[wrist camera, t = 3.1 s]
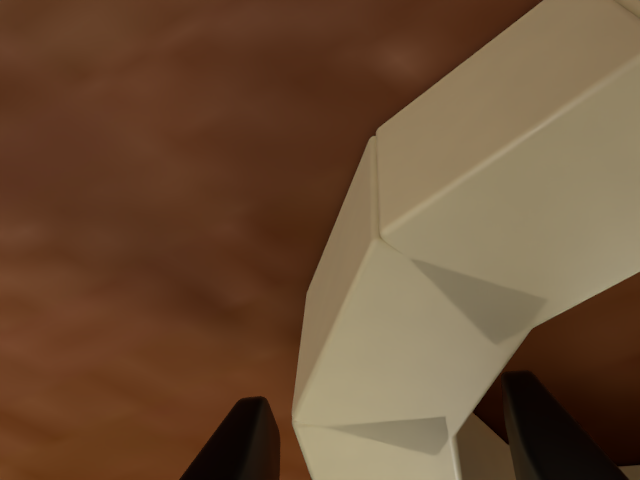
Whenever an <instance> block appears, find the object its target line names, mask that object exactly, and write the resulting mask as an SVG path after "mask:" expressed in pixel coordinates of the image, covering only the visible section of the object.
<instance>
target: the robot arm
mask: <svg viewBox="0 0 640 480" xmlns="http://www.w3.org/2000/svg"><path fill="white" fill-rule="evenodd" d="M501 385H502V400H503V413H504V420H505V426H506V431H507V436H508V441H509V446H510V451H511V456H512V461H513V466H514V472H515V477H516V480H629V479H628V477H627V476H626V475H625V474H624V473H623V472H622V471H621V470H620V469H619V468H618V466H617V465H616V464H615V463H614V462H613V461H612V460H611V459H610V458H609V457H608V455H607V454H606V453H605V452H604V451H603V450H602V449H601V448H600V447H599V446H598V444H597V443H596V442H595V441H594V440H593V439H592V438H591V437H590V436H589V434H588V433H587V432H586V431H585V430H584V429H583V428H582V427H581V426H580V425H579V423H578V422H577V421H576V420H575V419H574V418H573V417H572V416H571V415H570V414H569V412H568V411H567V410H566V409H565V408H564V407H563V406H562V405H561V404H560V403H559V401H558V400H557V399H556V398H555V397H554V396H553V395H552V394H551V393H550V392H549V390H548V389H547V388H546V387H545V386H544V385H543V384H542V383H541V382H540V381H539V379H538V378H537V377H536V376H535V375H534V374H533V373H532V372H530V371H528V370H521V371H511V372H505V373H503V374H502V376H501ZM279 476H280V434H279V430H278V427H277V424H276V421H275V419H274V416H273V413H272V411H271V408H270V405H269V403H268V401H267V399H266V398H265V397H262V396H259V397H248V398H242V399H240V400H239V401H238V402H237V403H236V404H235V405H234V407H233V408H232V409H231V411H230V412H229V413H228V415H227V416H226V417H225V419H224V420H223V421H222V423H221V424H220V425H219V427H218V428H217V430H216V431H215V432H214V434H213V435H212V436H211V438H210V439H209V440H208V442H207V443H206V444H205V446H204V447H203V448H202V450H201V451H200V452H199V454H198V455H197V456H196V458H195V459H194V460H193V462H192V463H191V465H190V466H189V467H188V469H187V470H186V471H185V473H184V474H183V475H182V477H181V478H180V479H179V480H279Z"/></svg>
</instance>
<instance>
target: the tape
mask: <svg viewBox="0 0 640 480" xmlns="http://www.w3.org/2000/svg"><path fill="white" fill-rule="evenodd" d="M638 272H640V0H543V1H542V2H540V3H539V4H538V5H537V6H535V7H534V8H533V9H531V10H530V11H529V12H528V13H526V14H525V15H524V16H522V17H521V18H520V19H519V20H517V21H516V22H515V23H513V24H512V25H511V26H509V27H508V28H507V29H506V30H504V31H503V32H502V33H500V34H499V35H498V36H497V37H495V38H494V39H493V40H491V41H490V42H489V43H488V44H486V45H485V46H484V47H482V48H481V49H480V50H478V51H477V52H476V53H475V54H473V55H472V56H471V57H469V58H468V59H467V60H466V61H464V62H463V63H462V64H460V65H459V66H458V67H457V68H455V69H454V70H453V71H451V72H450V73H449V74H447V75H446V76H445V77H444V78H442V79H441V80H440V81H438V82H437V83H436V84H435V85H433V86H432V87H431V88H429V89H428V90H427V91H426V92H424V93H423V94H422V95H420V96H419V97H418V98H416V99H415V100H414V101H413V102H411V103H410V104H409V105H407V106H406V107H405V108H404V109H402V110H401V111H400V112H398V113H397V114H396V115H395V116H393V117H392V118H391V119H389V120H388V121H387V122H385V123H384V124H383V125H382V126H380V127H379V128H378V129H377V131H376V136H372V137H371V138H370V139H369V141H368V143H367V146H366V148H365V151H364V153H363V156H362V158H361V161H360V163H359V165H358V168H357V170H356V173H355V175H354V178H353V180H352V183H351V185H350V188H349V190H348V193H347V195H346V198H345V200H344V202H343V205H342V207H341V210H340V212H339V215H338V217H337V220H336V222H335V225H334V227H333V230H332V232H331V235H330V237H329V239H328V242H327V244H326V247H325V249H324V252H323V254H322V257H321V259H320V262H319V264H318V267H317V269H316V272H315V274H314V276H313V279H312V281H311V284H310V286H309V289H308V291H307V295H306V303H305V311H304V319H303V327H302V335H301V343H300V351H299V359H298V367H297V374H296V382H295V390H294V398H293V406H292V425H293V428H294V431H295V434H296V437H297V439H298V442H299V445H300V448H301V450H302V453H303V456H304V459H305V462H306V464H307V467H308V470H309V473H310V476H311V478H312V480H516V477H515V472H514V466H513V461H512V456H511V451H510V446H509V445H508V444H506V443H505V442H504V441H503V440H502V439H501V438H500V437H499V436H498V435H497V434H496V433H495V432H493V431H492V430H491V429H490V428H489V427H488V426H487V425H486V424H485V423H484V422H483V421H482V420H480V419H479V418H478V417H477V416H476V415H475V414H474V413H473V412H472V411H473V410H474V409H475V407H476V406H477V404H478V403H479V402H480V400H481V399H482V398H483V396H484V395H485V393H486V392H487V391H488V389H489V388H490V386H491V385H492V384H493V382H494V381H495V379H496V378H497V377H498V375H499V374H500V372H501V371H502V370H503V368H504V367H505V365H506V364H507V363H508V361H509V360H510V359H511V357H512V356H513V354H514V353H515V352H516V350H517V349H518V347H519V346H520V345H521V343H522V342H523V340H524V339H525V338H526V336H527V335H528V333H529V332H530V331H531V329H532V328H534V327H536V326H538V325H540V324H542V323H544V322H545V321H547V320H549V319H551V318H553V317H555V316H557V315H559V314H561V313H563V312H564V311H566V310H568V309H570V308H572V307H574V306H576V305H578V304H580V303H581V302H583V301H585V300H587V299H589V298H591V297H593V296H595V295H597V294H599V293H600V292H602V291H604V290H606V289H608V288H610V287H612V286H614V285H616V284H617V283H619V282H621V281H623V280H625V279H627V278H629V277H631V276H633V275H635V274H636V273H638ZM618 468H619V469H620V470H621V471H622V472H623V473H624V474H625V475H626V476H627V477H628V479H629V480H640V465H633V466H619V467H618Z"/></svg>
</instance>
